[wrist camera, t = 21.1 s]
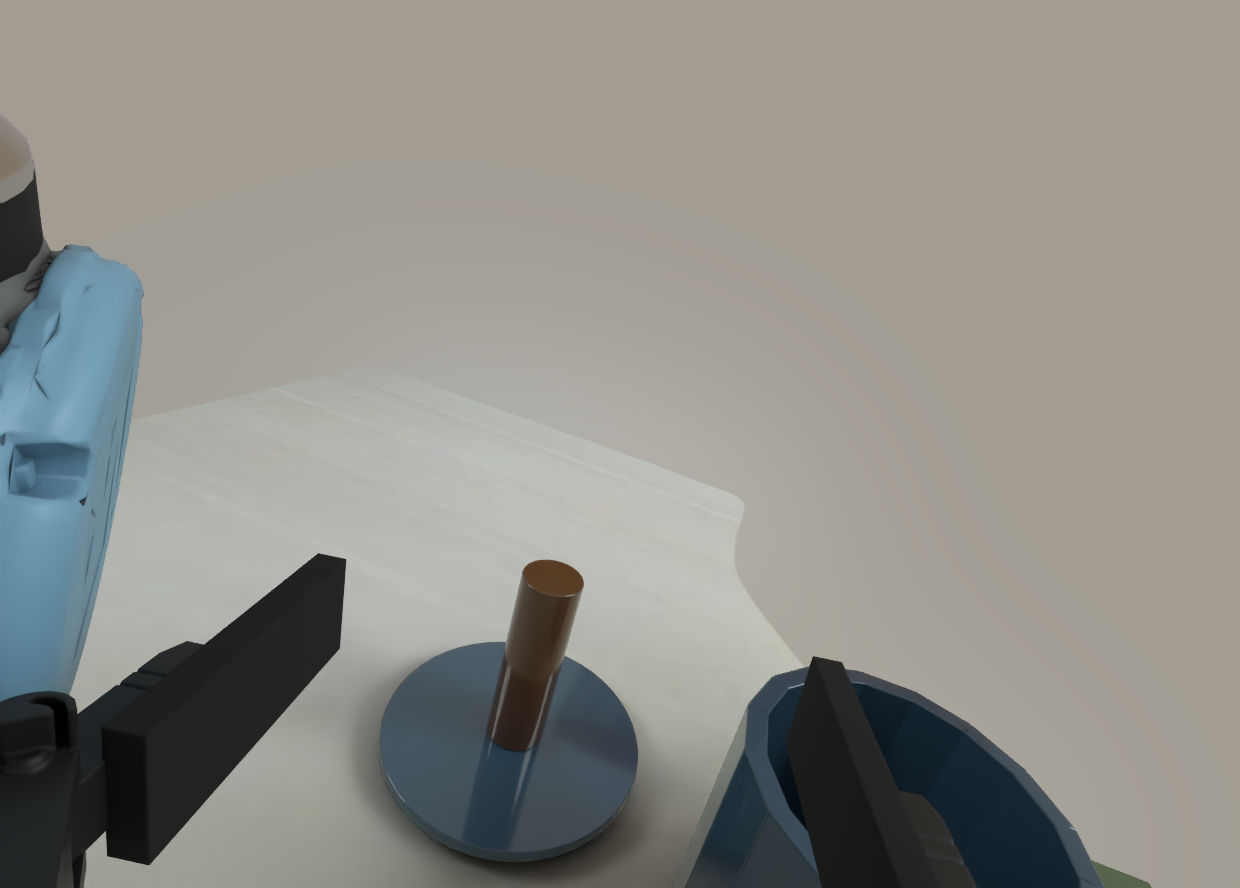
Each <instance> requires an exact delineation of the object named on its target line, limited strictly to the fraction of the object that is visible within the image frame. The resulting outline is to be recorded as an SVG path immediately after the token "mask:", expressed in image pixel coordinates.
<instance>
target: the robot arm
mask: <svg viewBox="0 0 1240 888" xmlns="http://www.w3.org/2000/svg"><path fill="white" fill-rule="evenodd" d="M143 296H144V294H143V287H142V283H141V281H140V279H139V277H138V276H137V275H136V274H135V272H134V271H133V270H131V269H130V268H129V267H128V266H126V265H125V264H122V263H120V262H117V261H113V260H108V259H103V258H102V257H100V256H99V255H98V254H97V253H96V252H95V251H94V250H92V249H91V248H90V247H88V246H77V245H66V246H65V247H64V249H63V250H62V251H50V249H49V247H48V245H47V242H46V240H45V239H44V237H43V233H42V226H41V218H40V209H39V201H38V192H37V185H36V176H35V167H34V162H33V159H32V156H31V152H30V148H29V145H28V141H27V138H26V137H25V136H24V135H23V134H22V133H21V132H20V131H19V130H18V129H16V128H15V127H14V126H13V125H12V124H11V123H10V122H9V121H8V120H7V119H5V118H4V117H3V116H2V115H1V114H0V888H84V880H85V872H86V850H87V849H88V848H89V847H90V846H91V845H92V844H93V843H94V842H95V841H96V840H97V839H98V838H99V837H100V836H101V835H102V834H103V833H104V832H105V831H106V840H107V856H109V857H114V858H118V859H123V860H127V861H132V862H136V863H141V864H145V865H150V864H151V863H152V862H153V860H154V859H155V858H156V857H157V856H158V855H159V854H160V852H161V851H162V850H163V849H164V848H165V847H166V846H167V845H168V843H169V842H170V841H171V840H172V839H173V838H174V837H175V835H176V834H177V833H178V832H179V831H180V830H181V829H182V827H183V826H184V825H185V824H186V823H187V822H188V821H189V819H190V818H191V817H192V816H193V815H194V814H195V813H196V811H197V810H198V809H199V808H200V807H201V806H202V805H203V804H204V802H205V801H206V800H207V799H208V798H209V797H210V796H211V794H212V793H213V792H214V791H215V790H216V789H217V788H218V786H219V785H220V784H221V783H222V782H223V781H224V780H225V778H226V777H227V776H228V775H229V774H230V773H231V772H232V770H233V769H234V768H235V767H236V766H237V765H238V764H239V762H240V761H241V760H242V759H243V758H244V757H245V756H246V755H247V753H248V752H249V751H250V750H251V749H252V748H253V747H254V745H255V744H256V743H257V742H258V741H259V740H260V739H261V737H262V736H263V735H264V734H265V733H266V732H267V731H268V729H269V728H270V727H271V726H272V725H273V724H274V723H275V721H276V720H277V719H278V718H279V717H280V716H281V715H282V714H283V712H284V711H285V710H286V709H287V708H288V707H289V706H290V704H291V703H292V702H293V701H294V700H295V699H296V698H297V696H298V695H299V694H300V693H301V692H302V691H303V690H304V688H305V687H306V686H307V685H308V684H309V683H310V682H311V680H312V679H313V678H314V677H315V676H316V675H317V674H318V672H319V671H320V670H321V669H322V668H323V667H324V666H325V665H326V663H327V662H328V661H329V660H330V659H331V658H332V657H333V655H334V654H335V653H336V652H337V651H338V650H339V649H340V638H341V625H342V611H343V597H344V584H345V570H346V559H343V558H338V557H333V556H328V555H324V554H319V553H318V554H317V555H316V556H314V557H313V558H312V559H311V560H309V561H308V562H307V563H306V564H304V565H303V566H302V567H301V568H299V569H298V570H297V571H296V572H294V573H293V574H292V575H291V576H289V577H288V578H287V579H286V580H284V581H283V582H282V583H281V584H279V585H278V586H277V587H276V588H274V589H273V590H272V591H271V592H269V593H268V594H267V595H266V596H264V597H263V598H262V599H261V600H259V601H258V602H257V603H256V604H254V605H253V606H252V607H251V608H249V609H248V610H247V611H246V612H244V613H243V614H242V615H241V616H239V617H238V618H237V619H236V620H234V621H233V622H232V623H231V624H229V625H228V626H227V627H226V628H224V629H223V630H222V631H221V632H219V633H218V634H217V635H216V636H214V637H213V638H212V639H211V640H209V641H208V642H207V643H206V644H204V645H203V644H198V643H193V642H189V641H186V642H184V643H182V644H179V645H177V646H175V647H172V648H170V649H168V650H165V651H163V652H161V653H159V654H158V655H156V656H155V657H154V658H152V659H151V660H150V661H148V662H147V663H146V664H144V665H143V666H142V667H140V668H139V669H138V671H137V672H133V673H132V674H131V675H129V676H128V677H127V678H125V679H124V680H123V681H121V684H120V685H116V686H115V687H113V688H112V689H111V690H109V691H108V692H107V693H105V694H104V695H103V696H101V697H100V698H99V699H97V700H96V701H95V702H93V703H92V704H91V705H89V706H88V707H87V708H85V709H84V710H83V711H81V712H80V713H79V714H77V706H76V702H75V699H74V698H72V697H71V696H69V694H70V691H71V688H72V685H73V682H74V679H75V676H76V672H77V669H78V665H79V662H80V658H81V655H82V651H83V648H84V644H85V641H86V637H87V633H88V629H89V625H90V621H91V617H92V613H93V609H94V605H95V600H96V596H97V592H98V588H99V583H100V579H101V574H102V570H103V565H104V560H105V555H106V551H107V546H108V541H109V537H110V532H111V527H112V521H113V516H114V511H115V506H116V501H117V496H118V491H119V485H120V479H121V474H122V468H123V462H124V456H125V451H126V445H127V439H128V433H129V428H130V422H131V415H132V409H133V402H134V396H135V389H136V382H137V374H138V367H139V359H140V350H141V340H142V323H143V320H142V316H141V300H142V298H143ZM786 745H787V749H788V753H789V757H790V761H791V765H792V769H793V773H794V777H795V781H796V785H797V789H798V794H799V798H800V802H801V806H802V810H803V814H804V818H805V822H806V826H807V830H808V834H809V838H810V842H811V846H812V850H813V854H814V858H815V862H816V866H817V870H818V874H819V878H820V882H821V887H822V888H977V886H976V884H975V882H974V880H973V878H972V876H971V874H970V872H969V870H968V868H967V866H966V865H964V863H963V862H964V860H963V858H962V856H961V854H960V852H959V850H958V848H957V846H954V840H953V838H952V836H951V834H950V832H949V830H948V828H947V826H946V824H945V822H944V820H943V818H942V817H941V816H940V815H939V814H938V812H937V811H936V810H935V809H934V808H933V807H932V806H931V805H930V803H929V802H928V801H927V800H926V799H925V798H924V797H923V796H922V795H917V794H912V793H908V792H903V791H899V790H898V788H897V786H896V783H895V781H894V779H893V777H892V774H891V772H890V770H889V767H888V765H887V763H886V761H885V758H884V756H883V754H882V752H881V749H880V747H879V745H878V743H877V740H876V738H875V736H874V734H873V731H872V729H871V727H870V725H869V722H868V720H867V718H866V715H865V713H864V711H863V709H862V706H861V704H860V702H859V700H858V697H857V695H856V693H855V691H854V688H853V686H852V684H851V682H850V679H849V677H848V675H847V672H846V670H845V668H844V666H843V664H842V662H838V661H833V660H829V659H824V658H819V657H814V656H813V658H812V661H811V664H810V667H809V670H808V674H807V677H806V680H805V683H804V686H803V690H802V693H801V696H800V699H799V702H798V705H797V709H796V712H795V715H794V718H793V721H792V725H791V728H790V731H789V734H788V737H787V741H786Z"/></svg>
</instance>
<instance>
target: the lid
mask: <svg viewBox="0 0 1240 888" xmlns="http://www.w3.org/2000/svg"><path fill="white" fill-rule="evenodd" d="M583 587H584V581H583V578H582V576H581V575H580V573H579V572H578V571H577V570H575V569H574V568H573V567H571V566H569V565H567V564H565V563H562V562H558V561H554V560H537V561H534V562H531V563H529V564H528V565H526V567H525V568H524V569H523V572H522V576H521V580H520V584H519V589H518V593H517V597H516V601H515V606H514V610H513V614H512V619H511V623H510V627H509V632H508V636H507V640H506V642H486V643H479V644H472V645H467V646H463V647H459V648H456V649H453V650H450V651H447V652H445V653H442V654H440V655H438V656H436V657H434V658H432V659H430V660H429V661H427V662H425V663H424V664H422V665H421V666H420V667H418V668H417V669H416V670H414V671H413V672H412V673H411V674H410V675H409V676H408V677H407V678H406V679H405V680H404V681H403V682H402V683H401V684H400V686H399V687H398V688H397V690H396V691H395V693H394V694H393V695H392V697H391V699H390V701H389V703H388V705H387V707H386V710H385V713H384V716H383V719H382V724H381V730H380V737H379V760H380V766H381V771H382V775H383V777H384V780H385V783H386V785H387V788H388V790H389V792H390V793H391V795H392V797H393V799H394V800H395V802H396V804H397V805H398V806H399V807H400V809H401V810H402V811H403V812H404V814H405V815H406V816H407V817H408V818H409V819H410V820H411V821H412V822H413V823H414V824H415V825H416V826H417V827H418V828H419V829H421V830H422V831H423V832H425V833H426V834H428V835H429V836H430V837H432V838H433V839H435V840H436V841H438V842H440V843H442V844H444V845H446V846H448V847H450V848H452V849H454V850H456V851H459V852H462V853H465V854H468V855H471V856H474V857H478V858H483V859H488V860H493V861H504V862H527V861H537V860H542V859H547V858H553V857H556V856H558V855H561V854H564V853H567V852H570V851H572V850H574V849H576V848H578V847H580V846H582V845H584V844H586V843H588V842H589V841H590V840H592V839H593V838H595V837H596V836H598V835H599V834H600V833H602V832H603V831H604V830H605V829H606V828H607V827H608V826H609V825H610V824H611V823H612V822H613V821H614V819H615V818H616V817H617V815H618V814H619V813H620V811H621V810H622V808H623V806H624V804H625V802H626V801H627V799H628V797H629V794H630V791H631V788H632V785H633V782H634V779H635V776H636V770H637V764H638V748H637V741H636V735H635V732H634V728H633V725H632V722H631V720H630V718H629V716H628V713H627V711H626V710H625V708H624V706H623V705H622V703H621V701H620V700H619V699H618V697H617V696H616V695H615V694H614V692H613V691H612V690H611V689H610V688H609V687H608V686H607V685H606V684H605V683H604V682H603V681H602V680H601V679H600V678H599V677H598V676H596V675H595V674H594V673H593V672H592V671H590V670H589V669H587V668H586V667H584V666H583V665H581V664H579V663H578V662H576V661H574V660H572V659H570V658H568V657H566V656H565V652H566V649H567V645H568V641H569V638H570V634H571V631H572V627H573V623H574V620H575V616H576V612H577V609H578V605H579V601H580V598H581V594H582V591H583Z"/></svg>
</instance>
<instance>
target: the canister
mask: <svg viewBox="0 0 1240 888" xmlns="http://www.w3.org/2000/svg"><path fill="white" fill-rule="evenodd" d="M809 667H810V666H809ZM809 667H805V668H801V669H798V670H794V671H790V672H786V673H783V674H779V675H775V676H774V677H771V678H770V679H769V681H768V682H767V683H766V684H765V685H764V686H763V687H762V689H761V690H760V691H759V692H758V693H757V694H756V695H755V696H754V698H753V699H752V700H751V701H750V702H749V703H748V706H747V708H746V710H745V713H744V715H743V718H742V720H741V722H740V725H739V727H738V730H737V732H736V734H735V737H734V739H733V742H732V744H731V746H730V749H729V751H728V754H727V756H726V758H725V761H724V763H723V766H722V768H721V770H720V773H719V775H718V777H717V780H716V782H715V785H714V787H713V789H712V792H711V794H710V797H709V799H708V801H707V804H706V806H705V809H704V811H703V813H702V816H701V818H700V821H699V823H698V825H697V828H696V830H695V833H694V835H693V837H692V840H691V842H690V845H689V847H688V849H687V852H686V854H685V856H684V859H683V861H682V864H681V866H680V868H679V871H678V873H677V876H676V878H675V880H674V883H673V888H822V887H821V882H820V878H819V874H818V870H817V866H816V862H815V858H814V854H813V850H812V846H811V842H810V838H809V834H808V830H807V826H806V822H805V818H804V814H803V810H802V806H801V802H800V798H799V794H798V789H797V785H796V781H795V777H794V773H793V769H792V765H791V761H790V757H789V753H788V749H787V745H786V741H787V737H788V734H789V731H790V728H791V725H792V721H793V718H794V715H795V712H796V709H797V705H798V702H799V699H800V696H801V693H802V690H803V686H804V683H805V680H806V677H807V674H808V670H809ZM845 670H846V672H847V675H848V677H849V679H850V682H851V684H852V686H853V688H854V691H855V693H856V695H857V697H858V700H859V702H860V704H861V706H862V709H863V711H864V713H865V715H866V718H867V720H868V722H869V725H870V727H871V729H872V731H873V734H874V736H875V738H876V740H877V743H878V745H879V747H880V749H881V752H882V754H883V756H884V758H885V761H886V763H887V765H888V767H889V770H890V772H891V774H892V777H893V779H894V781H895V783H896V786H897V788H898V790H899V791H903V792H908V793H912V794H917V795H922V796H923V797H924V798H925V799H926V800H927V801H928V802H929V803H930V805H931V806H932V807H933V808H934V809H935V810H936V811H937V812H938V814H939V815H940V816H941V817H942V818H943V820H944V822H945V824H946V826H947V828H948V830H949V832H950V834H951V836H952V838H953V840H954V846H957V848H958V850H959V852H960V854H961V856H962V858H963V860H964V862H963V863H964V865H966V866H967V868H968V870H969V872H970V874H971V876H972V878H973V880H974V882H975V884H976V886H977V888H1105V887H1104V885H1103V883H1102V881H1101V879H1100V877H1099V875H1098V873H1097V871H1096V869H1095V867H1094V865H1093V863H1092V861H1091V859H1090V857H1089V855H1088V853H1087V851H1086V849H1085V847H1084V845H1083V843H1082V841H1081V839H1080V837H1079V835H1078V833H1077V832H1076V831H1075V830H1074V827H1073V826H1072V825H1071V823H1070V822H1069V821H1068V820H1067V819H1066V818H1065V816H1064V815H1063V814H1062V813H1061V812H1060V810H1059V809H1058V808H1057V807H1056V806H1055V804H1054V803H1053V802H1052V801H1051V800H1050V798H1048V796H1047V795H1046V794H1045V793H1044V791H1043V790H1042V789H1041V788H1040V787H1039V785H1038V784H1037V783H1036V782H1035V781H1034V779H1033V778H1032V777H1031V776H1030V775H1029V774H1028V773H1027V772H1026V770H1025V769H1024V768H1022V767H1021V766H1020V765H1019V764H1018V763H1016V762H1015V761H1014V760H1013V759H1012V758H1010V757H1009V756H1008V755H1007V754H1006V753H1004V752H1003V751H1002V750H1001V749H1000V748H998V747H997V746H996V745H995V744H994V743H992V742H991V741H990V740H989V739H987V738H986V737H985V736H984V735H983V734H982V733H980V732H979V731H978V730H977V729H976V728H974V727H973V726H971V725H970V724H969V723H968V722H966V721H964V720H962V719H961V718H959V717H957V716H956V715H954V714H952V713H951V712H949V711H947V710H945V709H944V708H942V707H940V706H939V705H937V704H935V703H934V702H932V701H930V700H929V699H926V698H925V697H923V696H922V695H920V694H918V693H917V692H913V691H912V690H909V689H907V688H904V687H901V686H898V685H896V684H893V683H890V682H888V681H885V680H882V679H879V678H877V677H874V676H871V675H869V674H866V673H863V672H860V671H855V670H847V669H845Z"/></svg>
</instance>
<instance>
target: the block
mask: <svg viewBox="0 0 1240 888" xmlns="http://www.w3.org/2000/svg"><path fill="white" fill-rule="evenodd" d="M1091 861H1092V860H1091ZM1092 863H1093V865H1094V867H1095V869H1096V871H1097V873H1098V875H1099V877H1100V879H1101V881H1102V883H1103V885H1104V887H1105V888H1151V886H1150V884H1149V883H1147V882H1145V881H1143V880H1140V879H1137V878H1135V877H1132V876H1130V875H1127V874H1125V873H1122V872H1120V871H1117V870H1114V869H1112V868H1109V867H1107V866H1104V865H1102V864H1099V863H1097V862H1094V861H1092Z"/></svg>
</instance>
